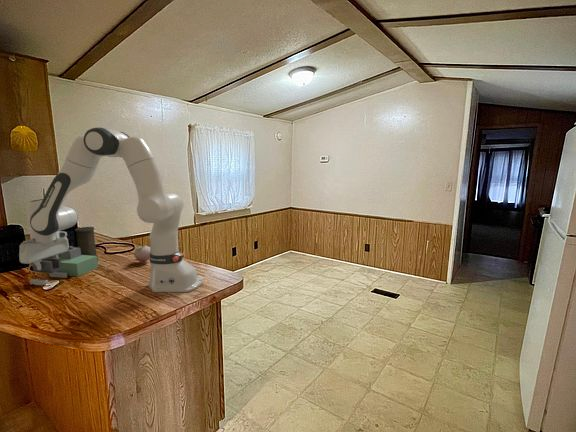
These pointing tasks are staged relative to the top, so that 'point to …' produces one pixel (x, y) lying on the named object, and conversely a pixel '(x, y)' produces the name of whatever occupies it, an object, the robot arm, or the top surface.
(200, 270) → the top surface
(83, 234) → the container
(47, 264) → the chute
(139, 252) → the decorative fruit
